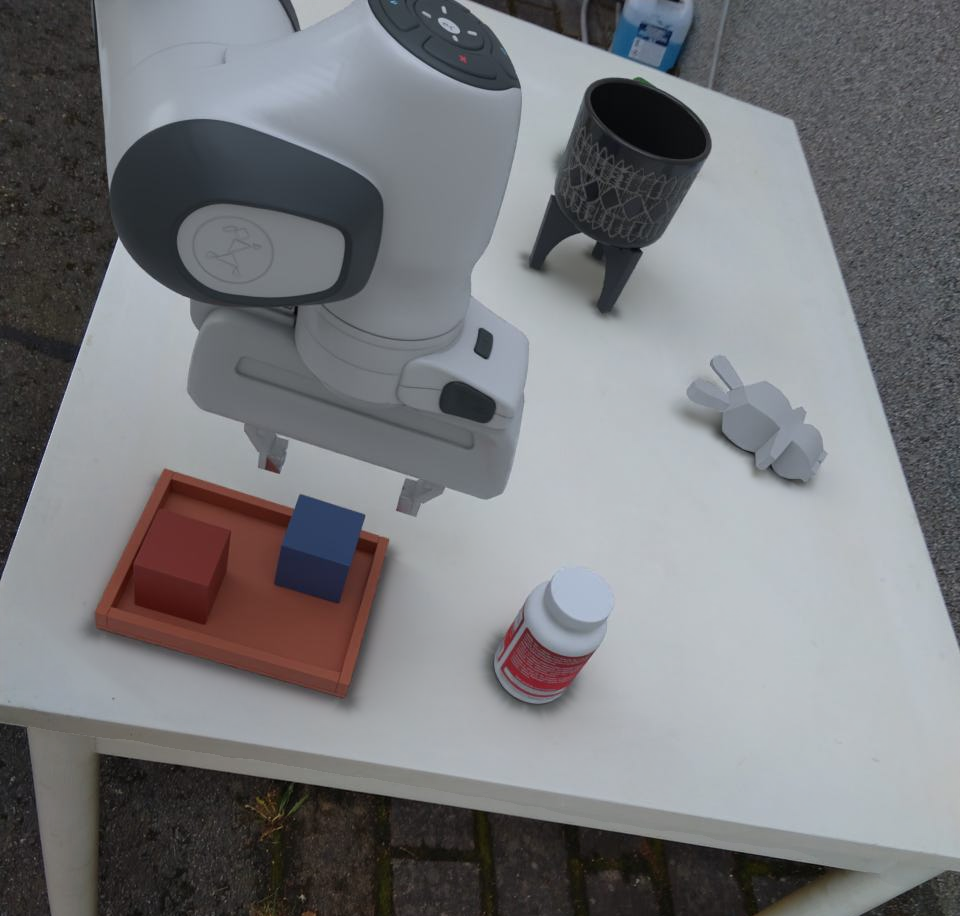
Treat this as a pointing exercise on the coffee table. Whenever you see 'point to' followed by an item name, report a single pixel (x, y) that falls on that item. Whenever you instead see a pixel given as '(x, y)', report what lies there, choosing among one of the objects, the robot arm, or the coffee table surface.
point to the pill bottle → (554, 635)
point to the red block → (181, 566)
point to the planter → (623, 176)
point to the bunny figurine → (762, 423)
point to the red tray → (250, 594)
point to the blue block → (318, 548)
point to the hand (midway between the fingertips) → (340, 486)
